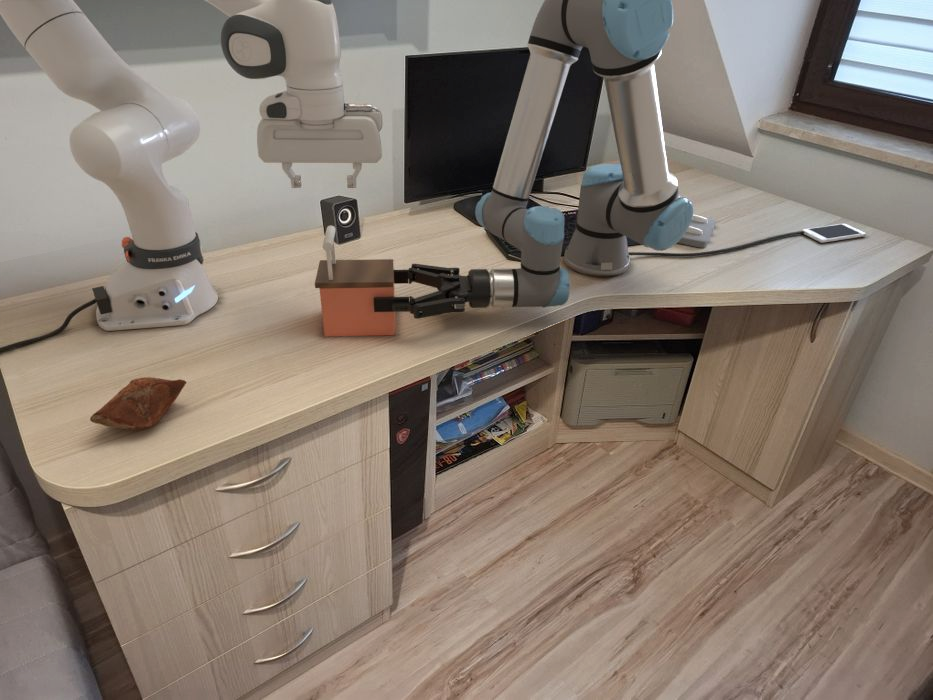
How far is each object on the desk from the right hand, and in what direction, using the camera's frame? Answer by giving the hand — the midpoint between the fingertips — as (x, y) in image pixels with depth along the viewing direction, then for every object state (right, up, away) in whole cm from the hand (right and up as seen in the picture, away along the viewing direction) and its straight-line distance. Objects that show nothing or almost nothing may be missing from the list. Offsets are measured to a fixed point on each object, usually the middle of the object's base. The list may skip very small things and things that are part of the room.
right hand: (374, 290), depth 122 cm
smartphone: (+116, +19, +49) cm, 127 cm away
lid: (-3, +3, -2) cm, 5 cm away
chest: (-3, -6, +4) cm, 8 cm away
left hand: (-7, +17, -12) cm, 22 cm away
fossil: (-32, -22, -23) cm, 45 cm away
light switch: (+75, +20, +48) cm, 91 cm away
